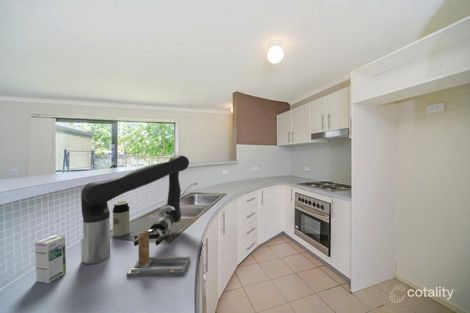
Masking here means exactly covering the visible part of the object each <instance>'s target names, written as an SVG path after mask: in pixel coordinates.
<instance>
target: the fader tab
mask: <svg viewBox="0 0 470 313" xmlns="http://www.w3.org/2000/svg"><path fill="white" fill-rule="evenodd" d="M137 246H138V249H137V250H138V260H139V261H138V260H137V261H138V262H137V261H136V262H137V263H136V262H135V263H136V265H135V266H134V268H148V266H149V265H150V264H151V262H152V261H153V260H154V257H155V256H150V239H149V231H148V230H144V231H141V230H140V231H139V232H138V245H137ZM149 257H150V258H149Z"/></svg>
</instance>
